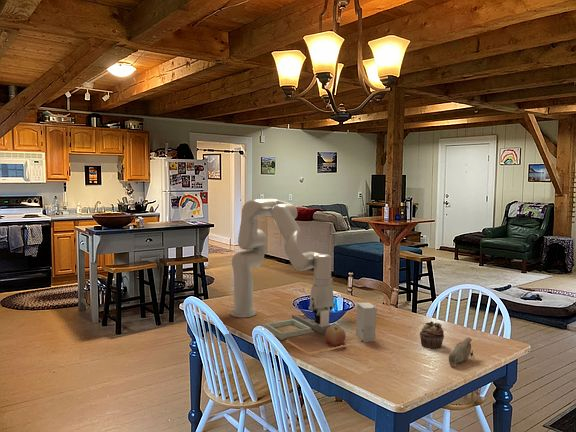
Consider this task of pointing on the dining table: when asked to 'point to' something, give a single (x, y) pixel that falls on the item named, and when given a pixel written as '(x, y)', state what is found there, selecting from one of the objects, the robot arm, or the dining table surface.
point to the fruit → (335, 335)
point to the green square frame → (283, 335)
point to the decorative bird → (460, 352)
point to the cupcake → (432, 336)
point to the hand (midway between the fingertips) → (321, 322)
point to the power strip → (310, 323)
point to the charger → (323, 317)
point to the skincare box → (366, 321)
